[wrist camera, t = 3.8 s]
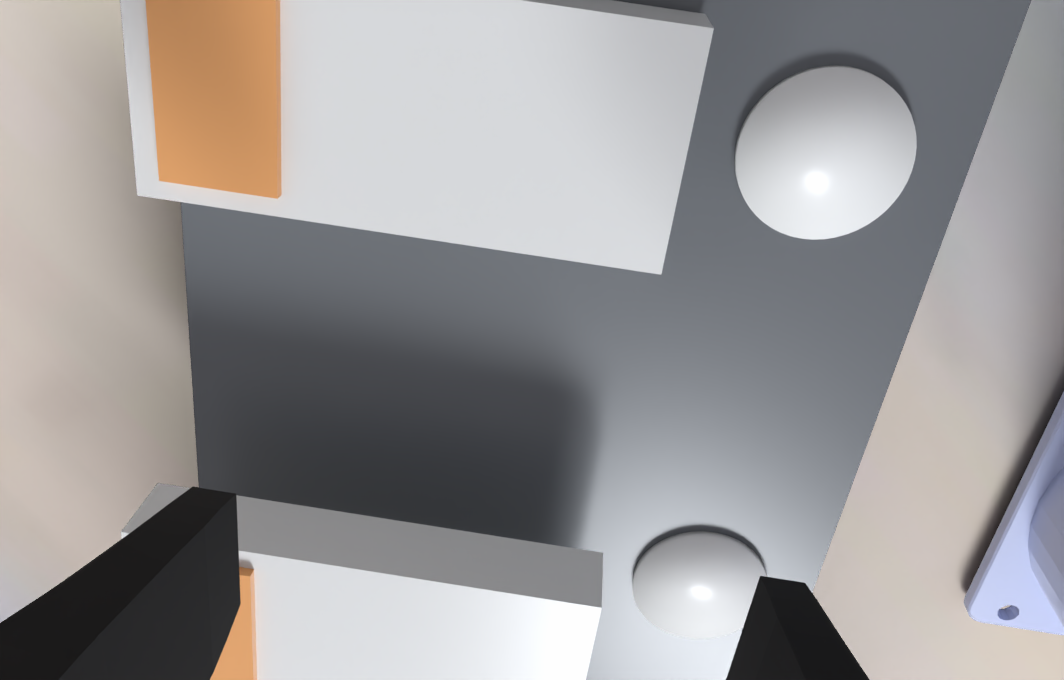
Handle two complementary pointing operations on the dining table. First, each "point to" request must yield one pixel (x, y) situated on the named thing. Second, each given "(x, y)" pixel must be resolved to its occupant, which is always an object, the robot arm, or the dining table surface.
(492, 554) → the switch on end
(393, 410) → the switch panel
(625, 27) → the switch middle
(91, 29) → the dining table surface
